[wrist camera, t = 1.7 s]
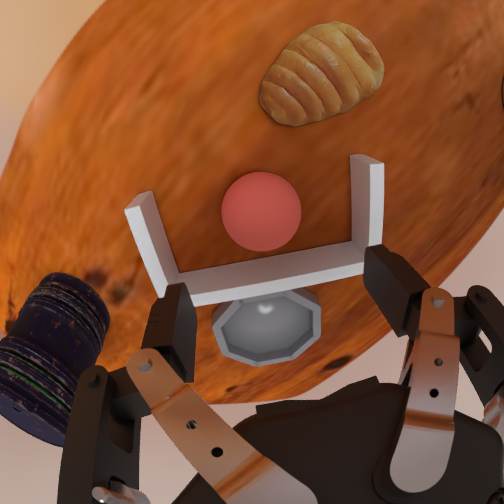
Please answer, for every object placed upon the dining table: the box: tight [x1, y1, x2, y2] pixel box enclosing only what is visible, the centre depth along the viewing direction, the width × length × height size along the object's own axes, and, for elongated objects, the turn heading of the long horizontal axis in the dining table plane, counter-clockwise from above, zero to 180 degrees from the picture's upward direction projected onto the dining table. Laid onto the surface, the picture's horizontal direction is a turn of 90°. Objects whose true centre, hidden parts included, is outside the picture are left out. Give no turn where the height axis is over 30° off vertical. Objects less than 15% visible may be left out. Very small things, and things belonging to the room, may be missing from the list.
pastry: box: [259, 21, 384, 127], centre depth 15 cm, size 9×7×4 cm
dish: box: [212, 287, 321, 367], centre depth 27 cm, size 10×10×2 cm
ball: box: [221, 172, 301, 251], centre depth 19 cm, size 6×6×6 cm
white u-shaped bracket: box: [124, 154, 384, 307], centre depth 21 cm, size 18×9×4 cm, turn 100°
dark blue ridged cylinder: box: [0, 273, 110, 448], centre depth 19 cm, size 10×10×15 cm
